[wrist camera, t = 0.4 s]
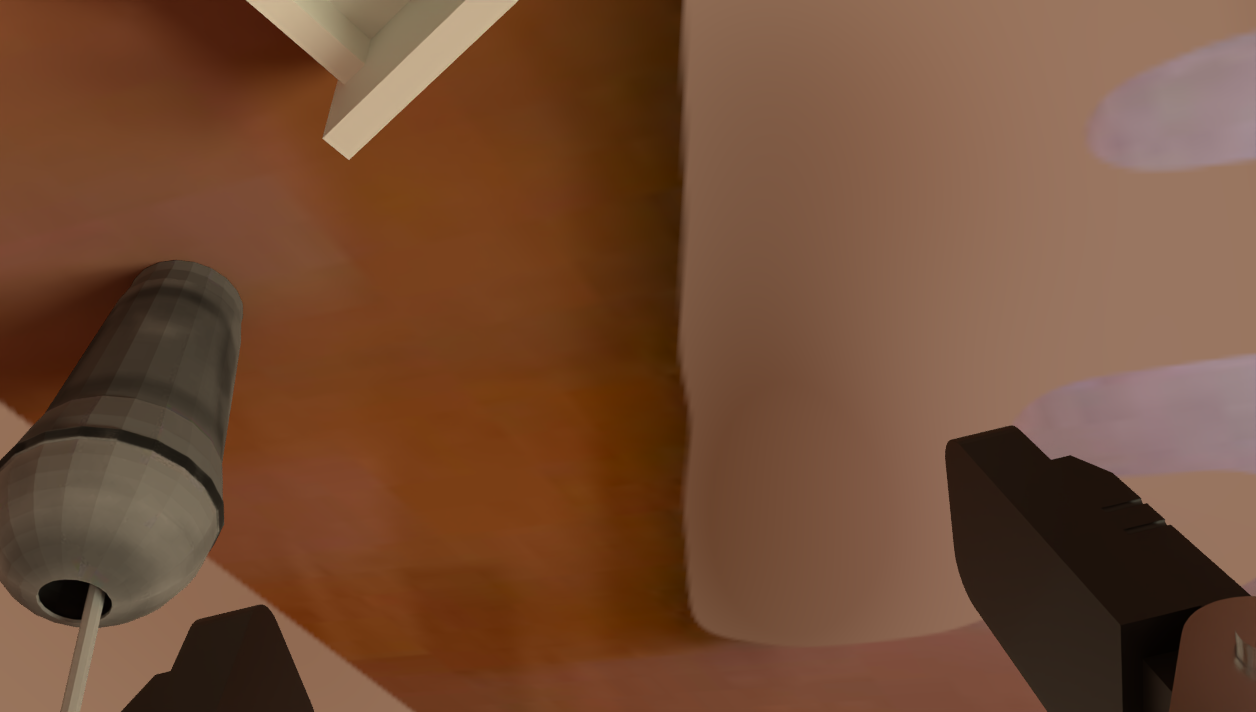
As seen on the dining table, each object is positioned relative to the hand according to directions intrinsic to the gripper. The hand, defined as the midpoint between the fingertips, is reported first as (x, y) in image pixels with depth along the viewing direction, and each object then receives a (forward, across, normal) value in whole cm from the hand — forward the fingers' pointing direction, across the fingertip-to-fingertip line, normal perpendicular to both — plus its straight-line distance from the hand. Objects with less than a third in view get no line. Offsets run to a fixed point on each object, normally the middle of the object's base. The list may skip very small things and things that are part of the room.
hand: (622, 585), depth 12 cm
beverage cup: (+33, +16, +4) cm, 37 cm away
